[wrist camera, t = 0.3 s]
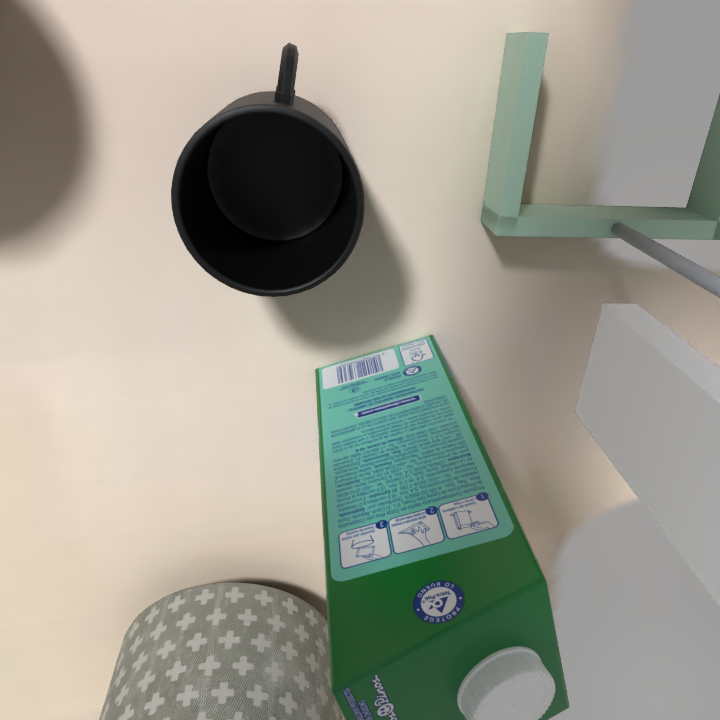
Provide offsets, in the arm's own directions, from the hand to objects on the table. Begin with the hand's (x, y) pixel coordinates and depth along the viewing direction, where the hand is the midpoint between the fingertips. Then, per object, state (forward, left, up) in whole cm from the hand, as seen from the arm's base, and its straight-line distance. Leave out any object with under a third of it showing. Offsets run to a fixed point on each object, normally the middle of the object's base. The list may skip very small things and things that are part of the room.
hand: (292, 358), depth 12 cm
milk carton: (+18, +7, -28) cm, 34 cm away
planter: (+43, -6, -28) cm, 52 cm away
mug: (0, -1, -28) cm, 28 cm away
